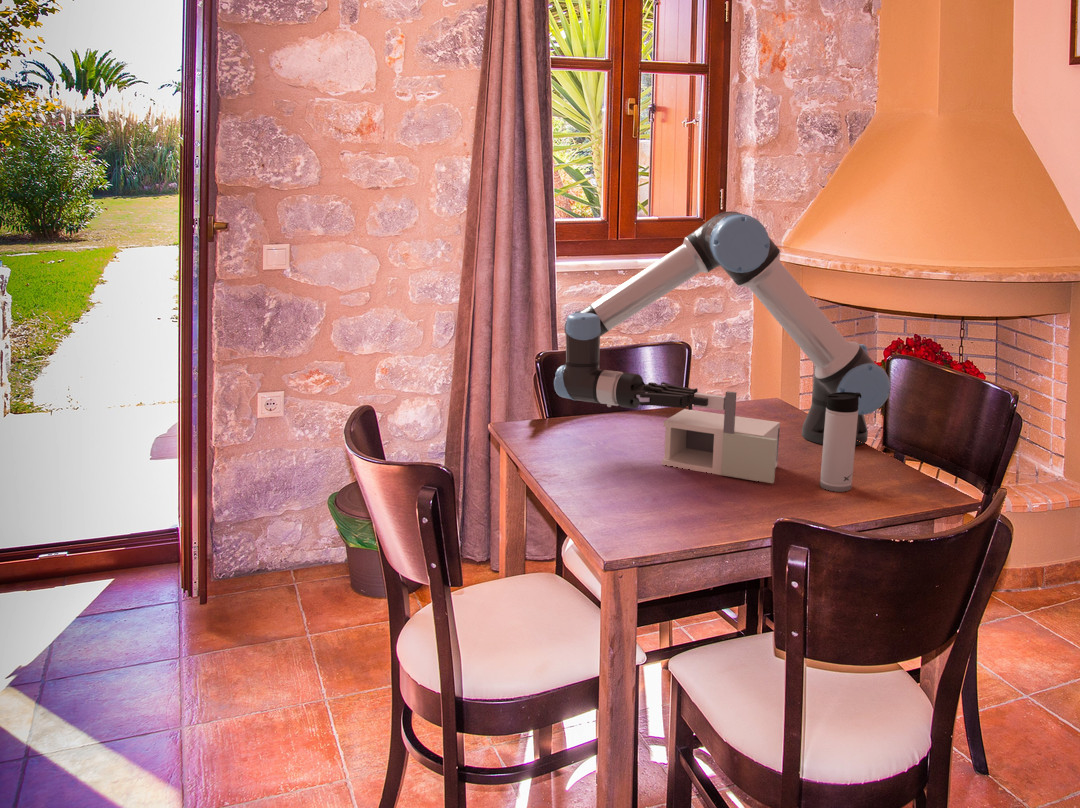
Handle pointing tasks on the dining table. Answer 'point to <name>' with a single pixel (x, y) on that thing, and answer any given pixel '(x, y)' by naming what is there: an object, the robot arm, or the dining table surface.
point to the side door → (746, 450)
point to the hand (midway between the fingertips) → (724, 403)
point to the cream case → (707, 439)
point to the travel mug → (839, 441)
